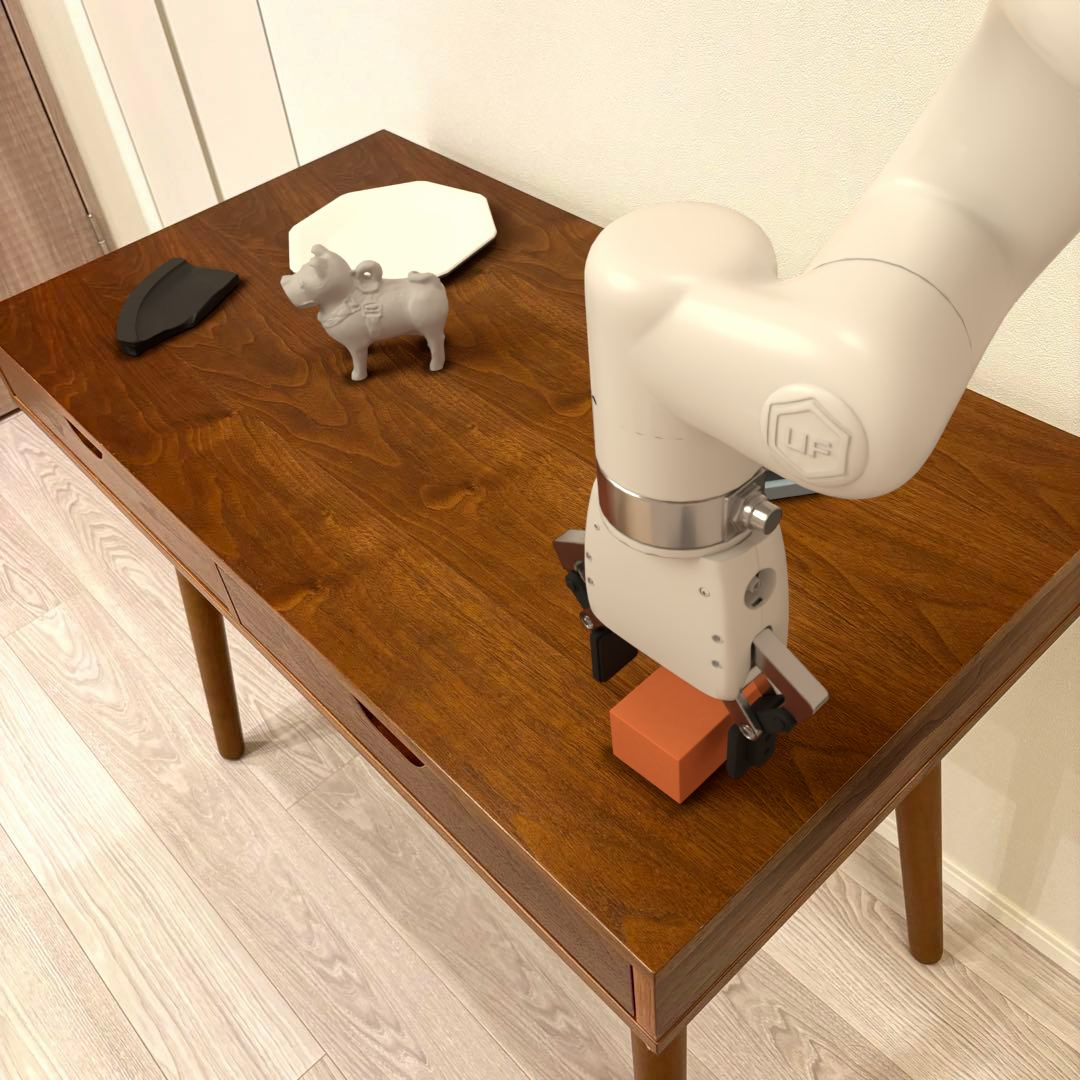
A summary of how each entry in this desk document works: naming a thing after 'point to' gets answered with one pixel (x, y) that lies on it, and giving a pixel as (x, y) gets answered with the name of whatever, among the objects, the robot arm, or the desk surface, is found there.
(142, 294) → the fan shaped piece
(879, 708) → the desk surface
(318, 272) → the dog figurine
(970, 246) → the robot arm
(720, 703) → the orange rectangular block
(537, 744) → the desk surface
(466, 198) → the plate
